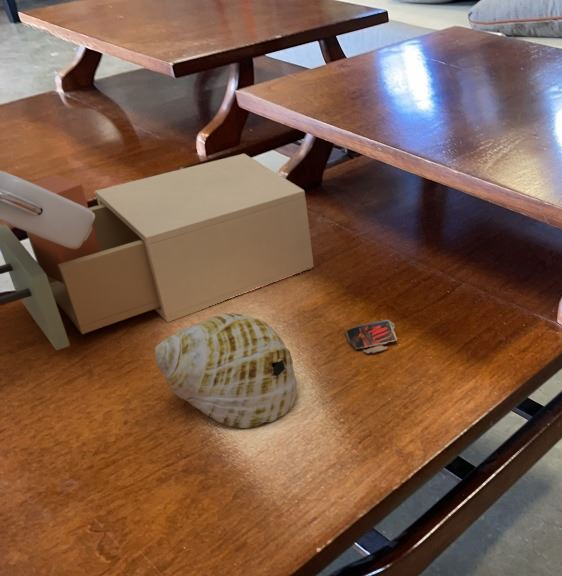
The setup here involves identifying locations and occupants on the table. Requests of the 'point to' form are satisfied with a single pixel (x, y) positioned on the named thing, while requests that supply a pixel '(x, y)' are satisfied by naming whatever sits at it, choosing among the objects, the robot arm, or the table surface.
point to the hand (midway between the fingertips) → (66, 225)
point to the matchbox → (372, 335)
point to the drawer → (83, 280)
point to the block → (55, 253)
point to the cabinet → (214, 230)
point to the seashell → (230, 370)
